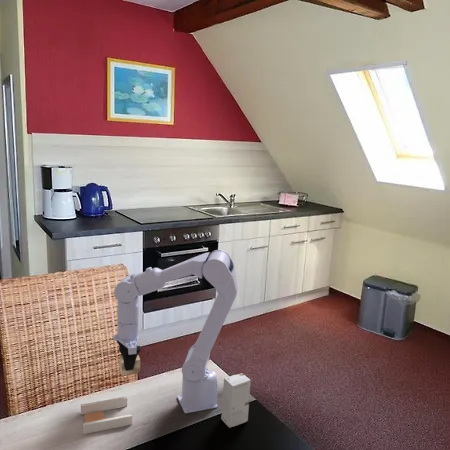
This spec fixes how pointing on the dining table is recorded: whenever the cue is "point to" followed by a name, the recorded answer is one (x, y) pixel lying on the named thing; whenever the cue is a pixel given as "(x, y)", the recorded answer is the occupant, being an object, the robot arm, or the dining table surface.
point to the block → (134, 371)
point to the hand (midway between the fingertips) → (127, 365)
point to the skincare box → (235, 400)
